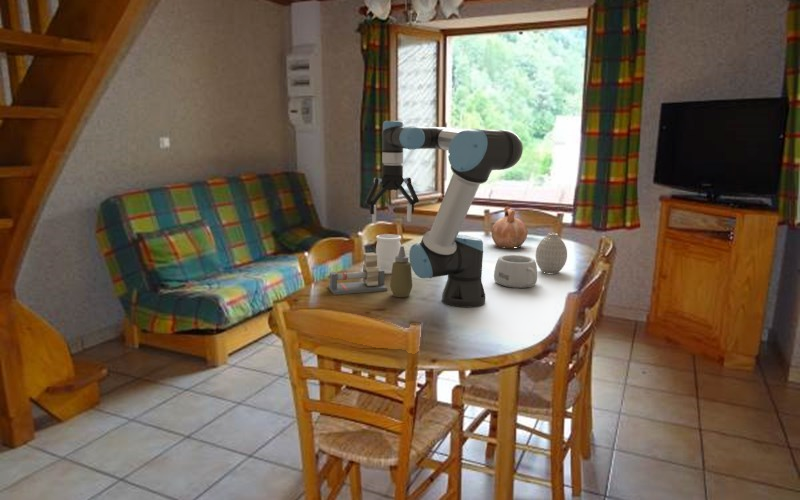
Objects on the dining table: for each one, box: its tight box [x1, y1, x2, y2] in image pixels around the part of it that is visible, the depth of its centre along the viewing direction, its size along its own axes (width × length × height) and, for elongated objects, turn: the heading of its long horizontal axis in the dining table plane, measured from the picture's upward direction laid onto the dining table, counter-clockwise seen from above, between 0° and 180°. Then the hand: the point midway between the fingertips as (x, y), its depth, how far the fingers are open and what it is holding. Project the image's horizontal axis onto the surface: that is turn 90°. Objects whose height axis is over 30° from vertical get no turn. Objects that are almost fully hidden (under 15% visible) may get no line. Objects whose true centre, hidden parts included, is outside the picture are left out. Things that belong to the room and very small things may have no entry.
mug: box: [493, 254, 538, 289], centre depth 218 cm, size 21×17×10 cm
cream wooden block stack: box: [362, 252, 379, 286], centre depth 210 cm, size 7×4×11 cm, turn 19°
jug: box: [490, 206, 529, 248], centre depth 286 cm, size 18×18×20 cm
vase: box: [535, 232, 568, 274], centre depth 238 cm, size 13×13×17 cm
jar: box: [375, 233, 402, 275], centre depth 233 cm, size 11×10×15 cm
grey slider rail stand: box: [327, 268, 388, 296], centre depth 209 cm, size 10×20×7 cm, turn 109°
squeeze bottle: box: [389, 245, 413, 298], centre depth 201 cm, size 8×8×18 cm
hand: (391, 222), depth 209 cm, fingers open, 13 cm apart
